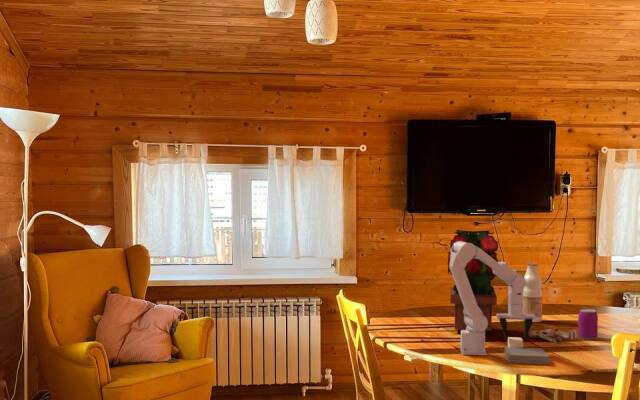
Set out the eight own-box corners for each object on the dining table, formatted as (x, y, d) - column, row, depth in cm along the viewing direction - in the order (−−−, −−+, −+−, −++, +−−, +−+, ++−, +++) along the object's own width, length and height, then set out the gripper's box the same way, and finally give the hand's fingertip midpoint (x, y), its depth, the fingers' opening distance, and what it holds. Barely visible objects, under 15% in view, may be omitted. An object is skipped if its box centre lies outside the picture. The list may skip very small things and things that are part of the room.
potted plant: (499, 337, 276) (500, 233, 275) (447, 335, 281) (448, 232, 280) (496, 326, 298) (496, 229, 297) (447, 324, 302) (448, 229, 301)
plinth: (509, 363, 237) (509, 355, 237) (504, 354, 249) (504, 346, 248) (549, 364, 235) (549, 356, 235) (542, 355, 247) (542, 348, 247)
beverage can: (586, 340, 271) (586, 312, 271) (574, 336, 279) (574, 308, 279) (601, 339, 274) (601, 311, 273) (589, 335, 281) (589, 308, 281)
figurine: (570, 330, 261) (525, 327, 276) (571, 344, 261) (526, 341, 275) (577, 328, 266) (532, 325, 280) (578, 342, 265) (533, 339, 280)
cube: (509, 352, 252) (509, 340, 252) (507, 349, 257) (507, 337, 257) (522, 353, 251) (523, 340, 251) (520, 349, 256) (520, 337, 256)
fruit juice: (518, 320, 311) (518, 263, 311) (527, 317, 318) (528, 261, 317) (536, 323, 304) (536, 264, 304) (545, 320, 311) (546, 263, 310)
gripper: (532, 302, 256) (532, 335, 257) (495, 301, 258) (495, 334, 259) (536, 305, 249) (536, 340, 250) (498, 304, 251) (497, 339, 252)
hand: (515, 337), depth 254 cm, fingers open, 7 cm apart
